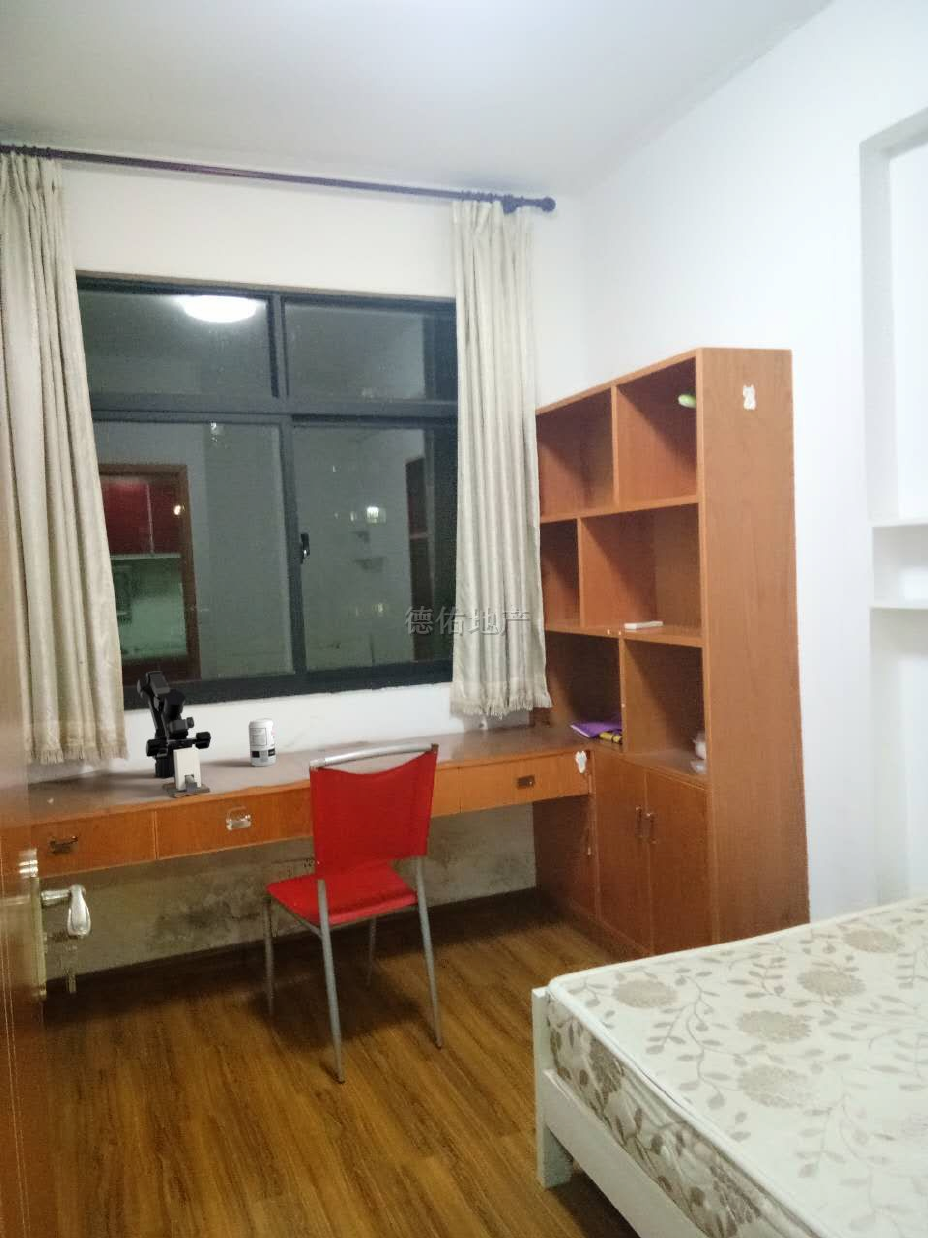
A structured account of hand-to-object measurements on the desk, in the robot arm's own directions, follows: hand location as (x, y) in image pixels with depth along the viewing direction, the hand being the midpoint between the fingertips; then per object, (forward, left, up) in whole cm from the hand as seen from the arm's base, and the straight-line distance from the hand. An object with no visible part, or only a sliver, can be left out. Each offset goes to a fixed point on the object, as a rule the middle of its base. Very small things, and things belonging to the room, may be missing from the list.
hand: (184, 766), depth 263 cm
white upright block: (+1, +3, -6) cm, 7 cm away
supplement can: (-34, -7, -7) cm, 36 cm away
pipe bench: (0, 0, -7) cm, 7 cm away
